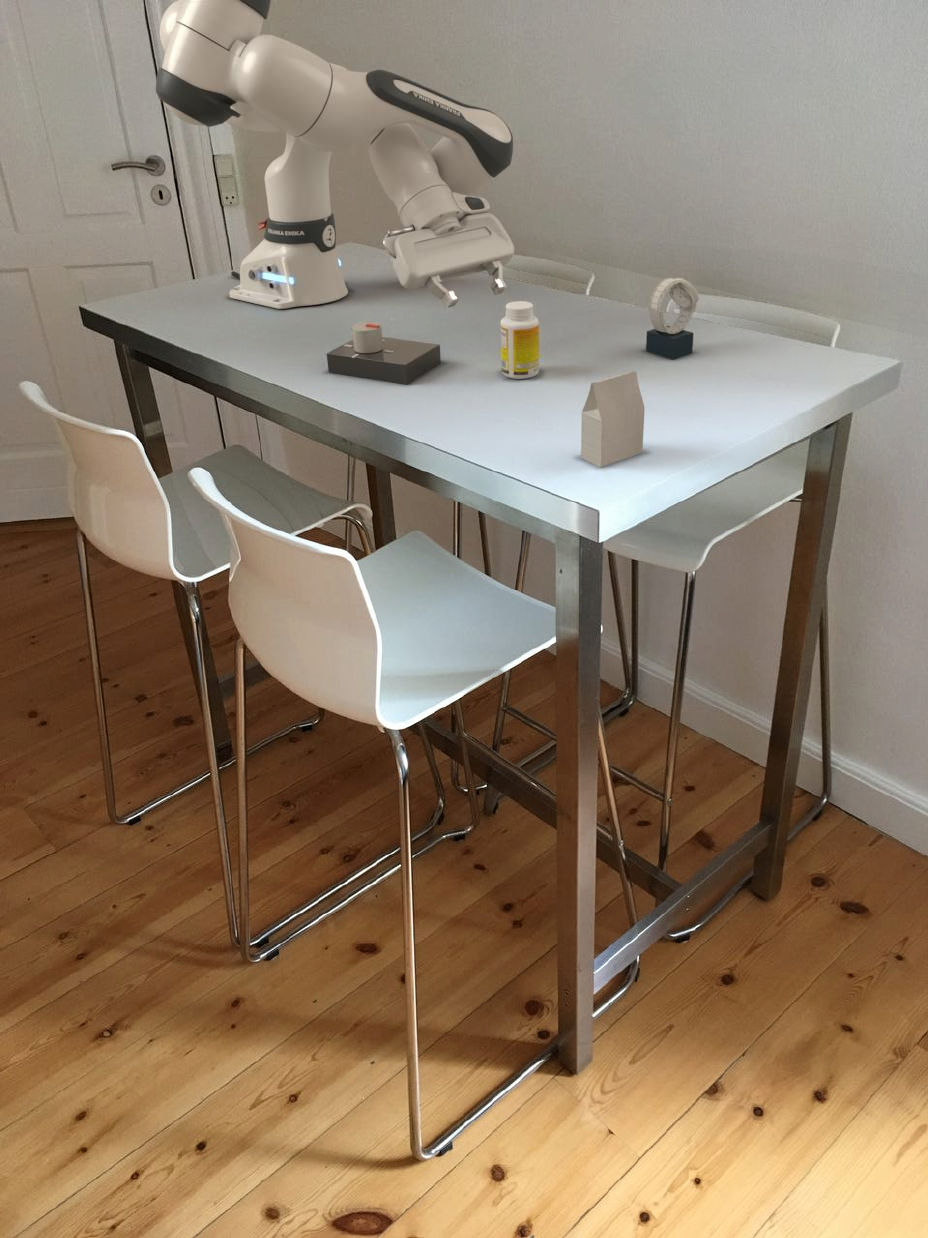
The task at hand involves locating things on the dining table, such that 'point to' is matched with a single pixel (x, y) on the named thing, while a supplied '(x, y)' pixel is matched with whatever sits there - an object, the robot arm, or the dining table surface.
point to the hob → (386, 360)
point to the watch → (673, 337)
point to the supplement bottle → (519, 341)
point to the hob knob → (367, 337)
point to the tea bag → (612, 420)
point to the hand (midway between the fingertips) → (477, 298)
